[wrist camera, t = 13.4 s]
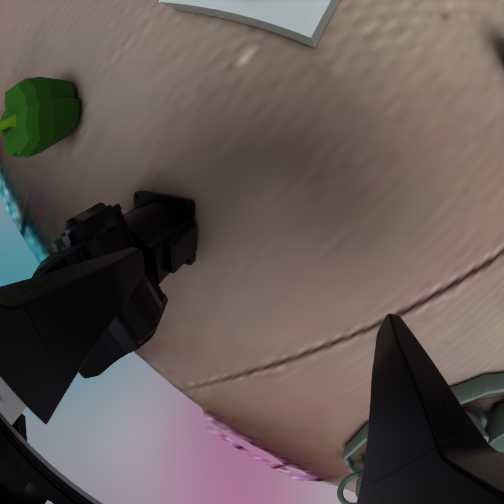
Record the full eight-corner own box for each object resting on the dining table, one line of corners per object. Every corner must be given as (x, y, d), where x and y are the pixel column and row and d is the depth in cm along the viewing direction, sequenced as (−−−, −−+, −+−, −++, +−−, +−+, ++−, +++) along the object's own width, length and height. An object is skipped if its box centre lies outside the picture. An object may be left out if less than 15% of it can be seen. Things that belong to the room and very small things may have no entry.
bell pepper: (92, 68, 19) (8, 76, 11) (89, 143, 24) (10, 172, 15) (50, 78, 21) (-19, 92, 12) (49, 141, 25) (-16, 166, 17)
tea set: (536, 416, 23) (544, 475, 10) (390, 476, 45) (382, 530, 31) (544, 317, 17) (587, 425, 3) (300, 427, 38) (275, 515, 24)
